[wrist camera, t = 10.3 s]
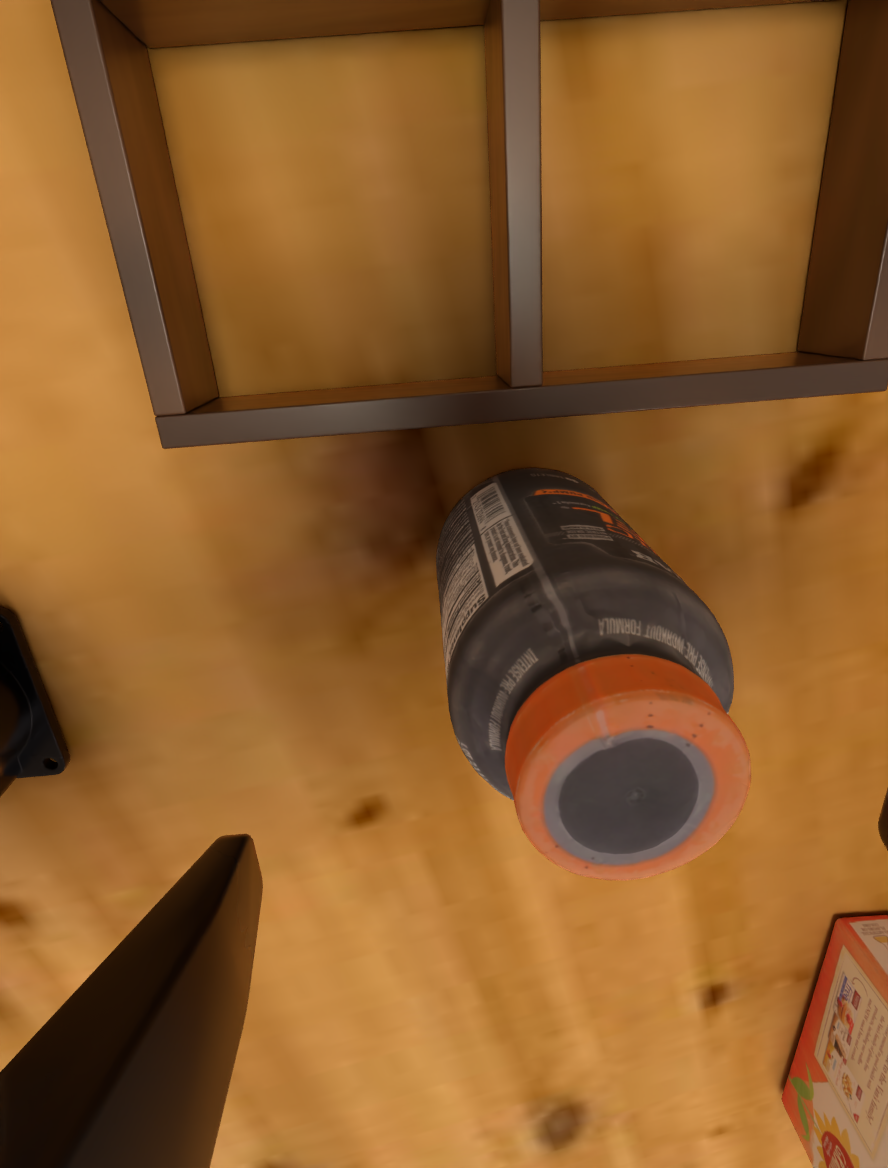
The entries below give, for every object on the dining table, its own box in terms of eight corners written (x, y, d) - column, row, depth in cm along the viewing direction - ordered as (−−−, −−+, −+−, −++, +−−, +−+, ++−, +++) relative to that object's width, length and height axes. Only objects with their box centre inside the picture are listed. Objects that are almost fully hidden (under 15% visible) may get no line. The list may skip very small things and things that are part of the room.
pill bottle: (653, 543, 21) (891, 782, 11) (527, 664, 23) (626, 973, 12) (523, 422, 19) (654, 567, 9) (396, 563, 21) (382, 825, 10)
